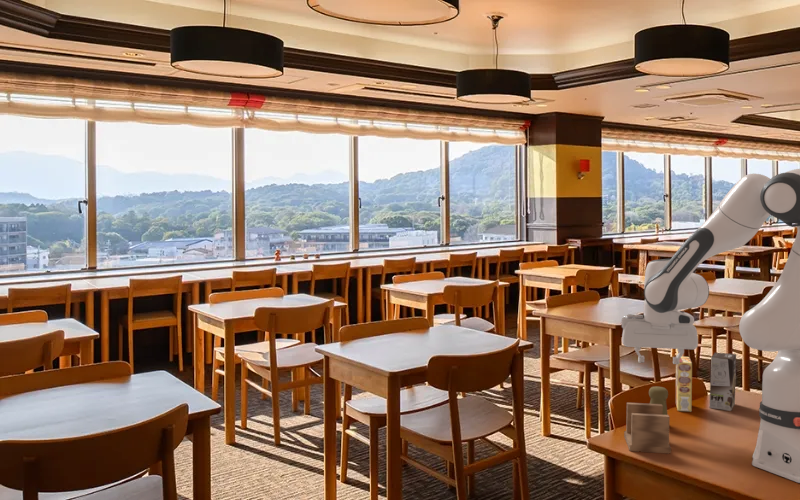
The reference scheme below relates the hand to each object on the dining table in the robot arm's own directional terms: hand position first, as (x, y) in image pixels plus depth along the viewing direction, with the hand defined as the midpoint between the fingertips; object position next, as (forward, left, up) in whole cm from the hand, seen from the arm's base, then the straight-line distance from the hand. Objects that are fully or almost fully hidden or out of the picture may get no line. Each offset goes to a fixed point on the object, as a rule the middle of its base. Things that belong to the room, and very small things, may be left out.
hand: (658, 363), depth 192 cm
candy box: (+12, -18, -18) cm, 28 cm away
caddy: (-13, +13, -18) cm, 26 cm away
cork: (0, 0, -18) cm, 18 cm away
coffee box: (+10, -31, -18) cm, 37 cm away
